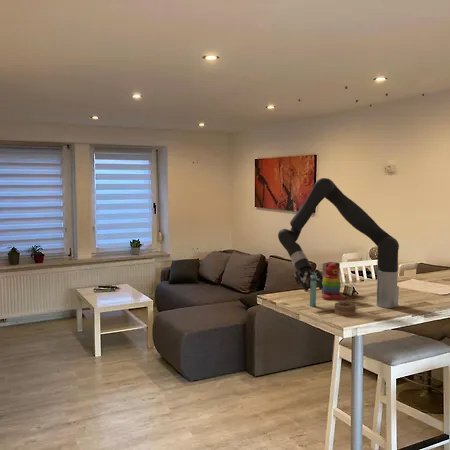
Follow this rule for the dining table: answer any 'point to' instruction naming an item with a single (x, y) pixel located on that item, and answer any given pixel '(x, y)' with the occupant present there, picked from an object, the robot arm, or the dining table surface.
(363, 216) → the robot arm
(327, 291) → the stacking bear
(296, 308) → the dining table surface
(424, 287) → the dining table surface
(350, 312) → the brown thick ring
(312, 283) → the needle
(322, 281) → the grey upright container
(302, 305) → the dining table surface
